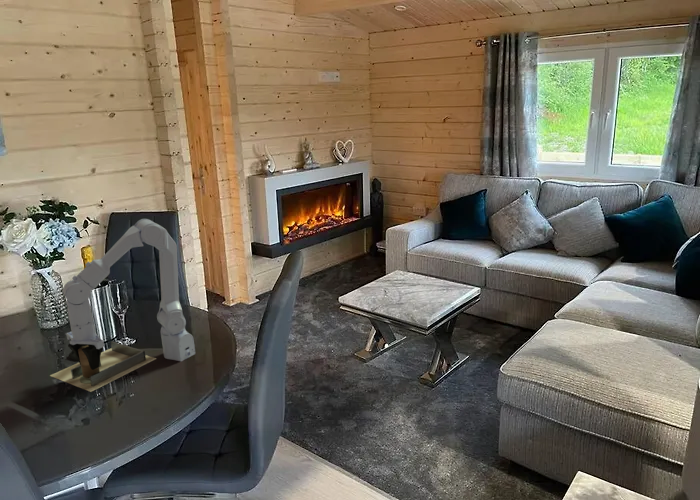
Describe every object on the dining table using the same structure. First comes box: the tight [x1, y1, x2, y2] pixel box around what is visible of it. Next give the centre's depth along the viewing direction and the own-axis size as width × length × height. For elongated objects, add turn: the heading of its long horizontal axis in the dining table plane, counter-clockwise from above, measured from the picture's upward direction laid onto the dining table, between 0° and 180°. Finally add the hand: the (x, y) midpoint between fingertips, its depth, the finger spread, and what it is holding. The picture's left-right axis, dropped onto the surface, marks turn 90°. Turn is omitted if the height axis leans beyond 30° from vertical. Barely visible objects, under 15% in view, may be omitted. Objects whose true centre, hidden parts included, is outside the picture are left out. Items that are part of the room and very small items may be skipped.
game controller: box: [68, 350, 79, 362], centre depth 166 cm, size 10×5×6 cm
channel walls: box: [71, 341, 146, 387], centre depth 156 cm, size 16×18×3 cm
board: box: [49, 348, 157, 393], centre depth 157 cm, size 20×22×1 cm
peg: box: [78, 345, 100, 378], centre depth 149 cm, size 4×4×8 cm
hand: (90, 366), depth 149 cm, fingers closed on peg, 4 cm apart
